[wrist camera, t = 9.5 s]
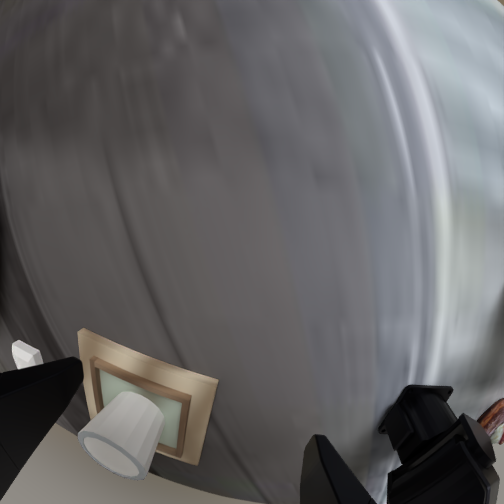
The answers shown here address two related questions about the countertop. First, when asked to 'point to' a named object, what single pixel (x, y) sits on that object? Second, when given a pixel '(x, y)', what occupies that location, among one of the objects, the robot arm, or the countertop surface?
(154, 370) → the board
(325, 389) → the countertop surface
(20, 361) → the soap bar
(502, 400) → the pastry
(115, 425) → the white tapered cylinder
